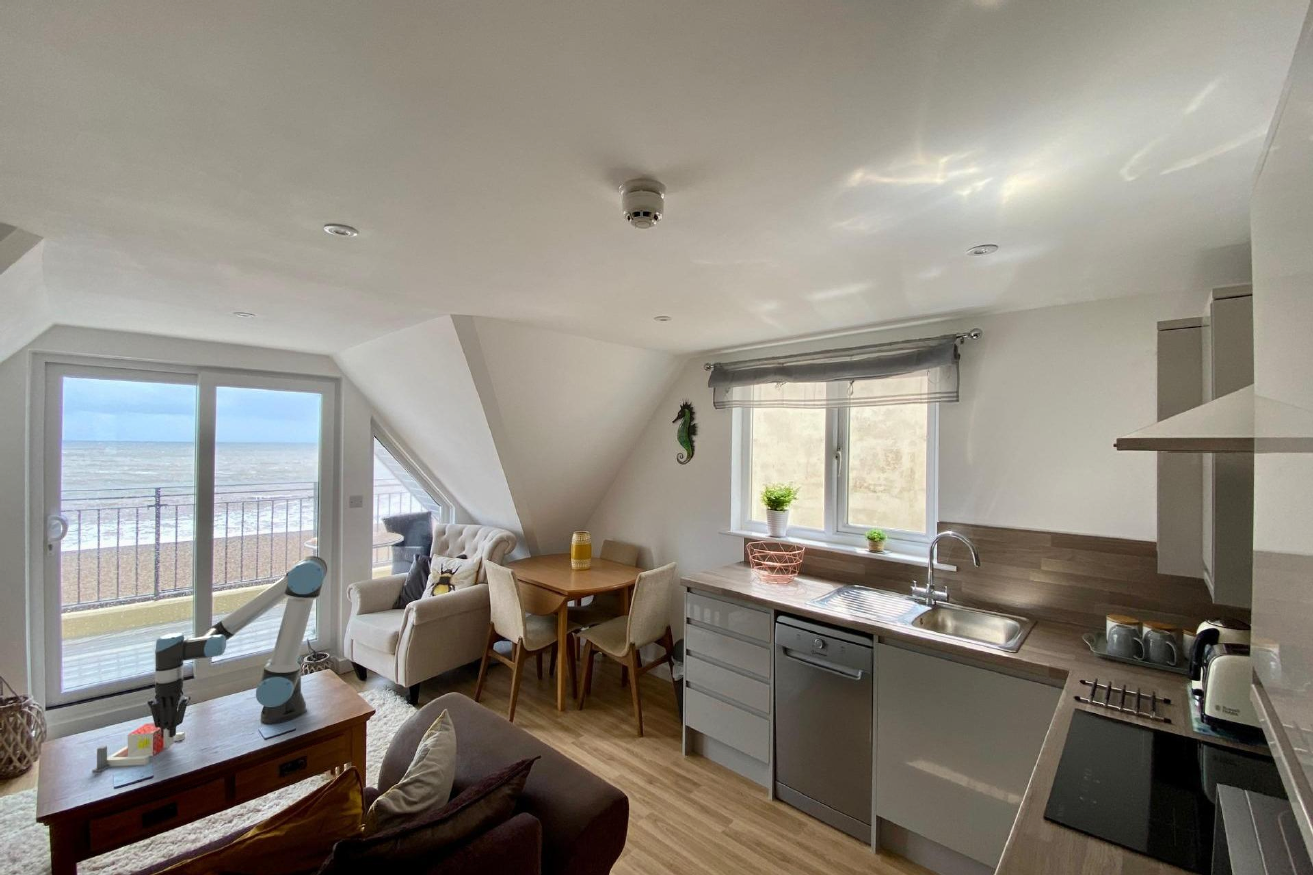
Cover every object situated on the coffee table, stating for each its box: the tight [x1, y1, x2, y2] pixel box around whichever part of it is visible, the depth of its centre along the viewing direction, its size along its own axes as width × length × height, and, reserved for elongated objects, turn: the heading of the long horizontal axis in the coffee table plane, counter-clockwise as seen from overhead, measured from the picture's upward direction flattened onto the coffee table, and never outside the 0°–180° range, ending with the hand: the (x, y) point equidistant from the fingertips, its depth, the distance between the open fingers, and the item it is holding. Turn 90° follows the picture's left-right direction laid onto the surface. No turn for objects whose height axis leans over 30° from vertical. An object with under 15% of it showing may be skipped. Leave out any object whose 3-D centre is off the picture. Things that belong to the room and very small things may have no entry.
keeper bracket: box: [91, 731, 186, 773], centre depth 192 cm, size 14×20×7 cm
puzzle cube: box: [127, 722, 164, 757], centre depth 194 cm, size 8×8×8 cm
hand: (168, 745), depth 194 cm, fingers closed
